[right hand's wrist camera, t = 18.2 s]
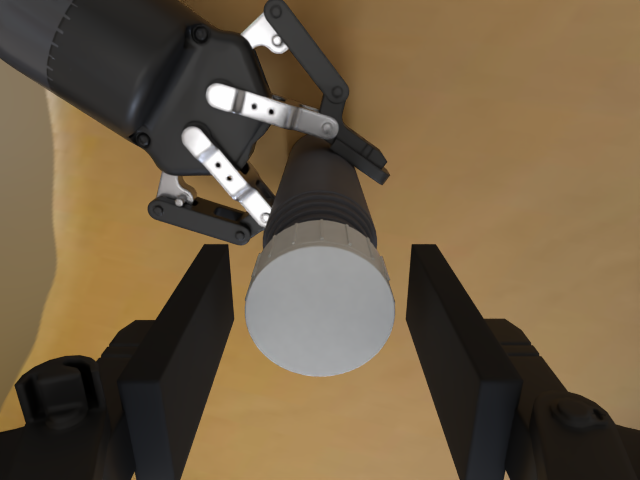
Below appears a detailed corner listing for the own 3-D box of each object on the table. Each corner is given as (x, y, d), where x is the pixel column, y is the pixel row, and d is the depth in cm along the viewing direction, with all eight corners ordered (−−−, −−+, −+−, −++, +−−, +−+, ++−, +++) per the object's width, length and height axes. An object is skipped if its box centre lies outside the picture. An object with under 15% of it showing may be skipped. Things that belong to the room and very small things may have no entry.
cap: (318, 189, 14) (317, 211, 12) (414, 279, 15) (429, 313, 13) (226, 282, 15) (211, 316, 13) (322, 358, 16) (322, 401, 14)
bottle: (275, 164, 32) (213, 303, 13) (319, 118, 31) (319, 201, 12) (320, 206, 33) (320, 389, 14) (364, 163, 32) (426, 303, 13)
